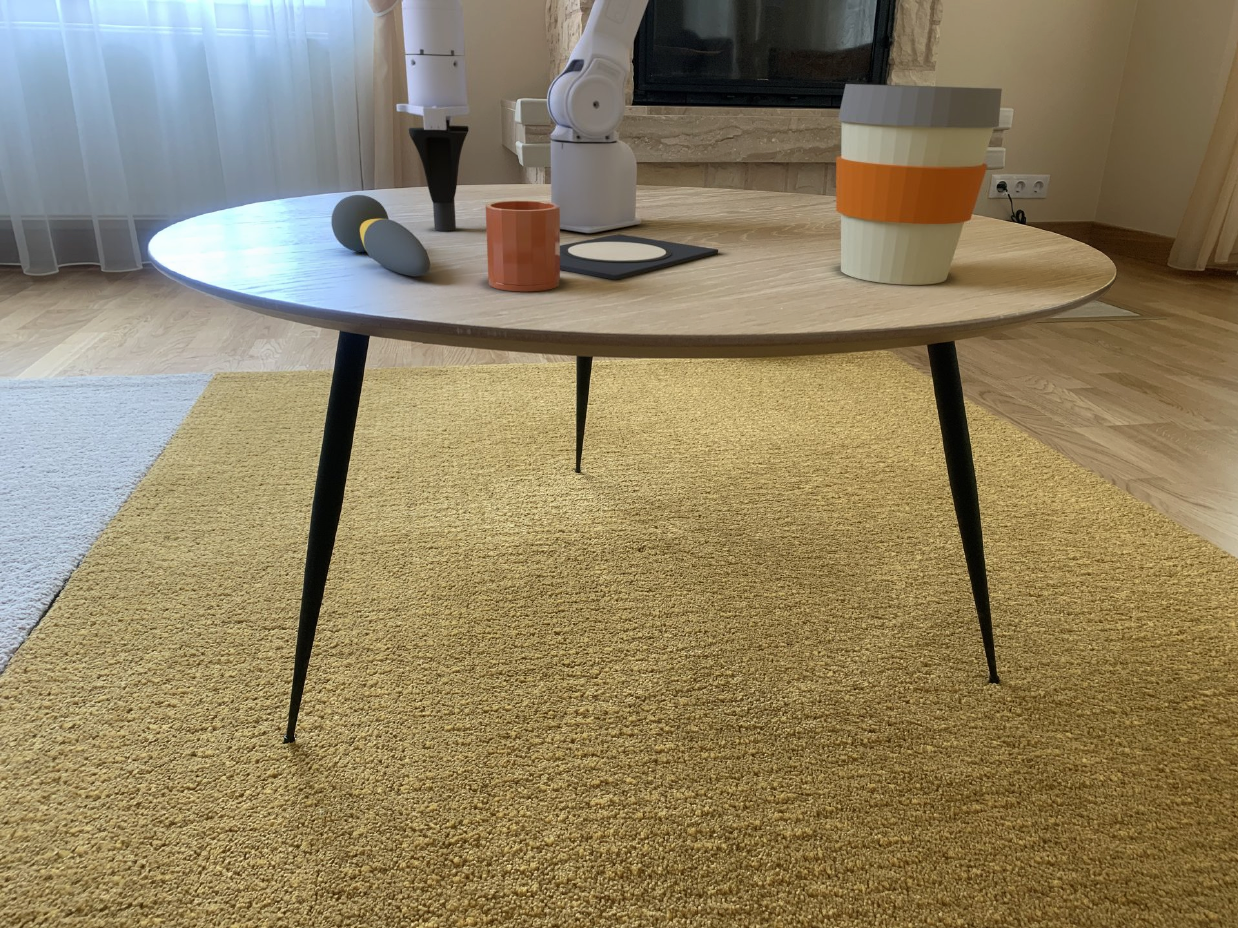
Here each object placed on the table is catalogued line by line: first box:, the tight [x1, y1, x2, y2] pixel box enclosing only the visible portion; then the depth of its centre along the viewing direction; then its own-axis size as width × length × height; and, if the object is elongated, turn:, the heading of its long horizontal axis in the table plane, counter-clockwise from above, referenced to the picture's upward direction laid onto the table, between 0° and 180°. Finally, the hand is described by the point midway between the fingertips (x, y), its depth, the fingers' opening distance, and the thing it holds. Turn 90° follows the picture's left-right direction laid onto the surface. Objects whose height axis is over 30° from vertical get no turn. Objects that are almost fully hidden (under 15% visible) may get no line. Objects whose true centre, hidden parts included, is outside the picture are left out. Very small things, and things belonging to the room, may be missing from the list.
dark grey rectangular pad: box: [560, 233, 719, 281], centre depth 80 cm, size 16×12×1 cm
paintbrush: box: [330, 194, 431, 277], centre depth 74 cm, size 20×5×5 cm, turn 38°
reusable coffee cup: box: [835, 83, 1003, 286], centre depth 73 cm, size 13×13×15 cm
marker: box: [432, 199, 457, 232], centre depth 89 cm, size 2×2×9 cm
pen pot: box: [485, 200, 561, 293], centre depth 68 cm, size 6×6×6 cm
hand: (443, 201), depth 90 cm, fingers closed on marker, 2 cm apart
